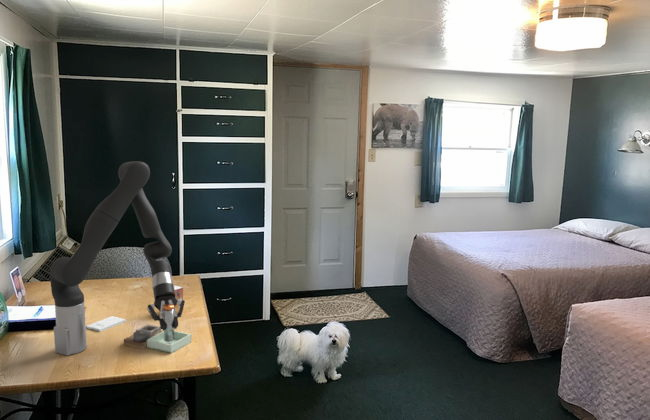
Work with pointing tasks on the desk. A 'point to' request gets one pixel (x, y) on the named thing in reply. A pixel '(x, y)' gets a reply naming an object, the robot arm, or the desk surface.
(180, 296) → the small box
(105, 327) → the external hard drive
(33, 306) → the desk surface
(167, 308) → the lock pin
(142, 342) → the tensioner bracket
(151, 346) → the tray
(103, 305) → the desk surface
